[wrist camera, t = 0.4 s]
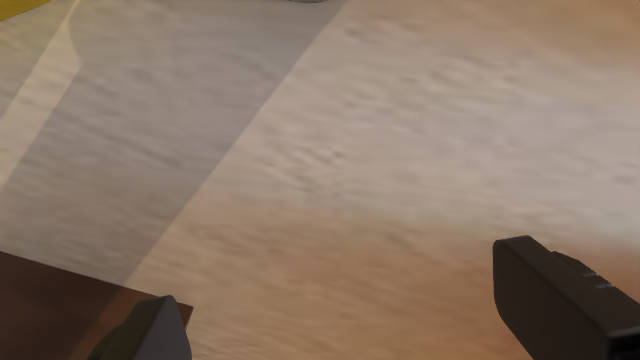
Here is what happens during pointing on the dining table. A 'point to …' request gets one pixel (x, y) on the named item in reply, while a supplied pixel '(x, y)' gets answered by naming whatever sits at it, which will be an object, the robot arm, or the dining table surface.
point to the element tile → (18, 7)
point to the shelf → (59, 311)
